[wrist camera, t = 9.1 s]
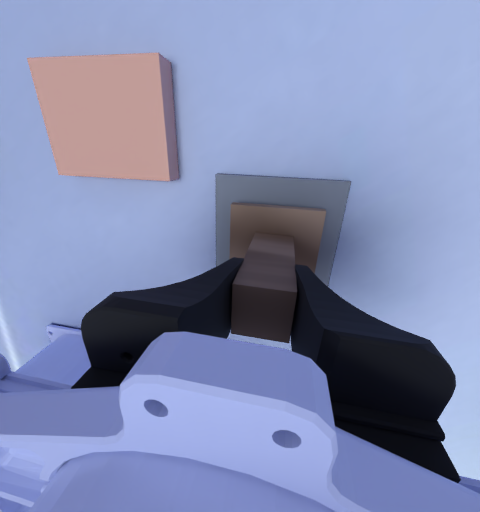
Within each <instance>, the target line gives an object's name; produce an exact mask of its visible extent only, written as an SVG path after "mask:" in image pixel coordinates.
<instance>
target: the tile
mask: <svg viewBox="0 0 480 512" xmlns="http://www.w3.org/2000/svg"><path fill="white" fill-rule="evenodd" d="M27 60H28V64H29V67H30V71H31V75H32V78H33V82H34V86H35V89H36V93H37V97H38V100H39V104H40V108H41V111H42V115H43V119H44V122H45V126H46V130H47V133H48V137H49V140H50V144H51V148H52V151H53V155H54V159H55V162H56V166H57V170H58V173H59V175H69V176H87V177H104V178H122V179H140V180H157V181H173V180H178V179H179V169H178V155H177V141H176V127H175V112H174V98H173V84H172V70H171V62H169V61H168V60H167V59H166V58H164V57H163V56H162V55H161V54H159V53H139V54H113V55H88V56H62V57H37V58H27Z"/></svg>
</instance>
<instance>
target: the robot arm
mask: <svg viewBox="0 0 480 512" xmlns="http://www.w3.org/2000/svg"><path fill="white" fill-rule="evenodd" d="M243 261H244V258H236V257H233V258H231V259H229V260H227V261H226V262H224V263H222V264H220V265H219V266H217V267H215V268H213V269H211V270H209V271H207V272H205V273H203V274H201V275H199V276H196V277H194V278H191V279H188V280H185V281H182V282H179V283H175V284H171V285H167V286H163V287H157V288H151V289H145V290H136V291H124V292H113V293H112V294H111V295H109V296H108V297H107V298H106V299H104V300H103V301H102V302H100V303H99V304H98V305H97V306H95V307H94V308H93V309H91V310H90V311H89V312H88V313H86V315H85V316H84V318H83V320H82V324H81V330H79V329H73V328H68V327H63V326H57V325H52V324H49V325H48V326H46V330H47V333H48V336H49V338H50V341H51V344H50V345H49V346H47V347H46V348H45V349H43V350H42V351H41V352H40V353H38V354H37V355H36V356H35V357H33V358H32V359H31V360H30V361H28V362H27V363H26V364H24V365H23V366H22V367H21V368H19V369H18V370H17V371H16V372H12V371H11V368H10V366H9V363H8V361H7V360H6V358H5V357H4V356H3V355H1V354H0V512H480V480H475V479H471V478H467V477H462V476H459V475H458V473H457V471H456V469H455V467H454V465H453V464H452V462H451V460H450V458H449V456H448V454H447V452H446V450H445V449H444V447H443V445H442V443H441V441H444V439H445V434H444V432H443V430H442V428H441V427H440V425H439V423H438V421H437V420H438V418H439V416H440V415H441V413H442V411H443V410H444V408H445V407H446V405H447V403H448V402H449V400H450V399H451V397H452V395H453V392H454V390H455V387H456V380H455V375H454V373H453V371H452V369H451V367H450V365H449V364H448V363H447V361H446V360H445V359H444V358H443V356H442V355H441V354H440V352H439V351H438V350H437V349H436V347H435V346H434V345H433V343H432V342H431V341H430V340H428V339H425V338H422V337H420V336H417V335H414V334H412V333H409V332H406V331H404V330H401V329H398V328H396V327H394V326H391V325H389V324H387V323H385V322H382V321H380V320H378V319H376V318H374V317H372V316H370V315H368V314H367V313H365V312H363V311H361V310H359V309H358V308H356V307H354V306H353V305H351V304H350V303H348V302H347V301H345V300H344V299H342V298H341V297H340V296H338V295H337V294H336V293H334V292H333V291H332V290H331V289H330V288H329V287H327V286H326V285H325V284H324V283H323V282H322V281H321V280H320V279H319V278H318V277H317V276H316V275H315V274H314V273H313V272H312V270H311V269H310V268H309V267H308V266H306V265H297V264H295V273H296V281H297V297H296V303H295V309H294V316H293V322H292V328H291V334H290V336H291V346H292V351H290V350H287V349H282V348H277V347H271V346H265V345H259V344H254V343H248V342H242V341H236V340H231V339H227V337H228V335H229V333H230V330H231V318H232V284H233V282H234V279H235V277H236V275H237V273H238V270H239V268H240V267H241V265H242V263H243Z"/></svg>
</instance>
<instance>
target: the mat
mask: <svg viewBox="0 0 480 512" xmlns="http://www.w3.org/2000/svg"><path fill="white" fill-rule="evenodd" d="M350 185H351V181H343V180H325V179H307V178H289V177H270V176H252V175H234V174H216V267H217V266H219V265H220V264H222V263H224V262H226V261H227V260H229V256H230V211H231V204H232V203H233V202H238V203H251V204H265V205H278V206H292V207H305V208H319V209H325V210H326V216H325V221H324V226H323V232H322V237H321V242H320V248H319V253H318V258H317V263H316V269H315V275H316V276H317V277H318V278H319V279H320V280H321V281H322V282H323V283H324V284H325V285H326V286H327V287H328V283H329V279H330V274H331V270H332V265H333V261H334V256H335V252H336V247H337V243H338V239H339V234H340V230H341V225H342V221H343V216H344V212H345V207H346V203H347V198H348V194H349V189H350Z"/></svg>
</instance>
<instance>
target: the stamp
mask: <svg viewBox="0 0 480 512" xmlns="http://www.w3.org/2000/svg"><path fill="white" fill-rule="evenodd" d="M325 216H326V210H325V209H319V208H305V207H292V206H278V205H265V204H251V203H238V202H233V203H232V204H231V211H230V256H229V259H231V258H233V257H236V258H244V261H243V263H242V265H241V267H240V268H239V270H238V273H237V275H236V277H235V279H234V282H233V284H232V318H231V334H237V335H243V336H249V337H255V338H261V339H267V340H273V341H279V342H285V343H289V340H290V334H291V328H292V322H293V316H294V309H295V303H296V297H297V281H296V273H295V264H297V265H306V266H308V267H309V268H310V269H311V270H312V272H313V273H314V274H315V269H316V263H317V258H318V253H319V248H320V242H321V237H322V232H323V226H324V221H325Z"/></svg>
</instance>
